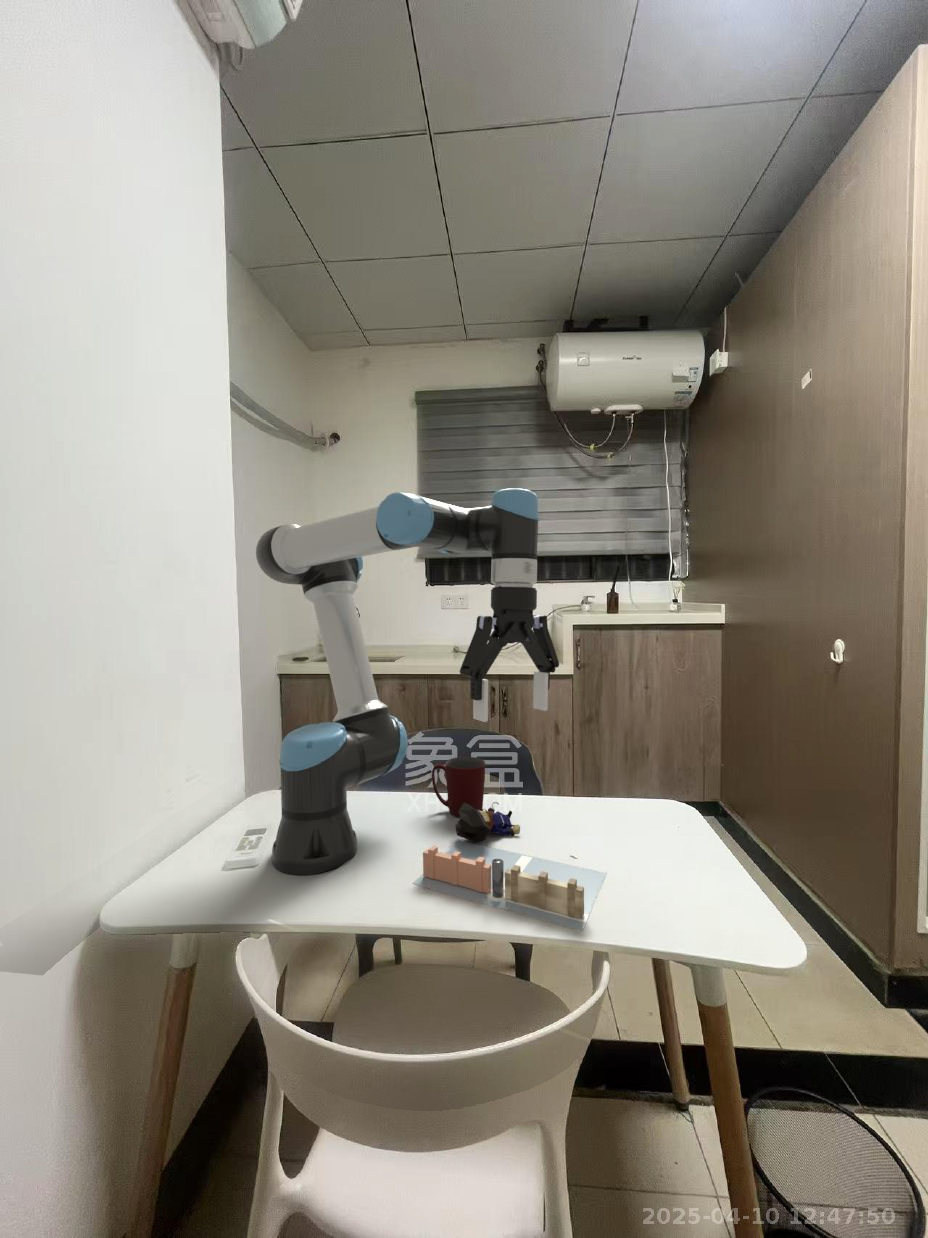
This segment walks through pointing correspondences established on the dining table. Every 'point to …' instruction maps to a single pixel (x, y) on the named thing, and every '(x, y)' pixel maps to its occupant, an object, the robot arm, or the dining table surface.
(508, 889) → the fixed panel
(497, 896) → the hinge post
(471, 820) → the toy
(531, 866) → the card
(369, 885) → the dining table surface
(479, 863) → the swing panel
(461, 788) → the mug
